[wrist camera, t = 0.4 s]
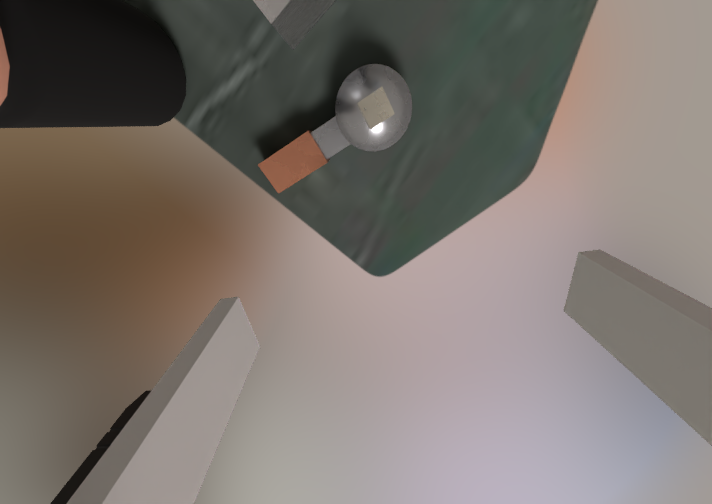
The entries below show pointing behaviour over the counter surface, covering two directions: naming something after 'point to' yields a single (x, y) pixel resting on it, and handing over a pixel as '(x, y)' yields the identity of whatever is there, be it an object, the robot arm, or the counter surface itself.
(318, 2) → the silver metal block
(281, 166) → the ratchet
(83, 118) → the coffee jar
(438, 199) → the counter surface
